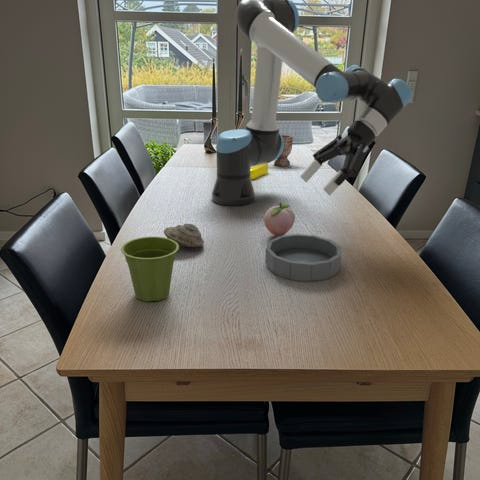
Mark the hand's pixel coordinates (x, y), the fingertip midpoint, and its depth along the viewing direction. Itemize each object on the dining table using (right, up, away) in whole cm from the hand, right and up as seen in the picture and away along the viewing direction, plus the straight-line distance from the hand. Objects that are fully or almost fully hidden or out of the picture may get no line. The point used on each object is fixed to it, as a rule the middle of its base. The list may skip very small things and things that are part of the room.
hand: (314, 185), depth 131 cm
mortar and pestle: (-3, +19, +82) cm, 84 cm away
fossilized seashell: (-36, -18, -6) cm, 41 cm away
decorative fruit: (-10, -14, +3) cm, 18 cm away
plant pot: (-40, -27, -29) cm, 56 cm away
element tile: (-18, +12, +67) cm, 71 cm away
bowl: (-5, -21, -15) cm, 26 cm away
